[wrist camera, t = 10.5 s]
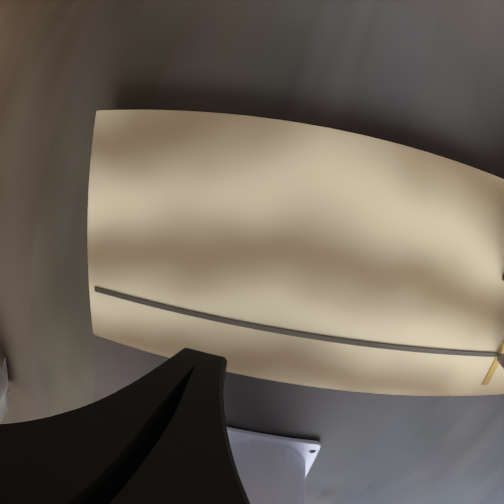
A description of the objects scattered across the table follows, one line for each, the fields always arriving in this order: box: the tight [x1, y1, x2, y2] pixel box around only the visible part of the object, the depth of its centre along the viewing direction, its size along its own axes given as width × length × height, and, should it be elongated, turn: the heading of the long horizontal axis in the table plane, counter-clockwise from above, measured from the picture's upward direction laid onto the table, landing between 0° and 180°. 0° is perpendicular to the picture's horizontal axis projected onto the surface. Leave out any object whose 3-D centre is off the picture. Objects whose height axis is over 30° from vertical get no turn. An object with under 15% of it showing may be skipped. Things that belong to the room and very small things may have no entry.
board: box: [87, 110, 504, 396], centre depth 16 cm, size 14×32×2 cm, turn 82°
